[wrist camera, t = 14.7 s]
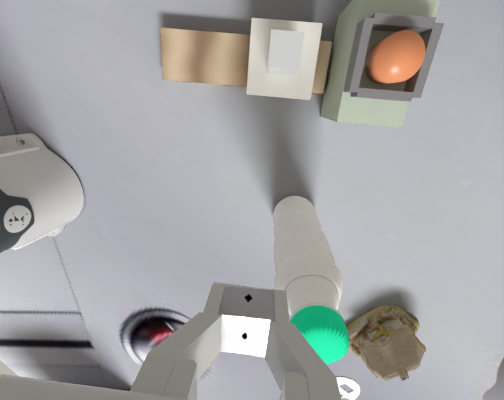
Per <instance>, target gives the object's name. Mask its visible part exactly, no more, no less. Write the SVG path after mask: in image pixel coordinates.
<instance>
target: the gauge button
mask: <svg viewBox="0 0 504 400" xmlns="http://www.w3.org/2000/svg"><path fill="white" fill-rule="evenodd" d="M424 58H425V44H424V41H423V39H422V37H421V36H420V35H419V34H418V33H416V32H414V31H411V30H402V31H398V32H396V33H394V34H392V35H390V36H388V37H387V38H385V39H383V40H381V41H379V42H378V43H376V44H375V45H374V46H373V47H372V48H371V50H370V51H369V53H368V55H367V57H366V61H365V70H366V74H367V76H368V77H369V79H370V80H371V81H373V82H374V83H377V84H389V83H396V82H402V81H405V80H407V79H409V78H410V77H412V76H413V75H414V74H415V73H416V72H417V71H418V70H419V69H420V67H421V65H422V63H423V61H424Z"/></svg>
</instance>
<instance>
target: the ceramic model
mask: <svg viewBox="0 0 504 400" xmlns="http://www.w3.org/2000/svg"><path fill="white" fill-rule="evenodd" d="M346 328H347V331H348V335H349V347H350V348H351V349H352V351H353V352H354V353H355V354H356V355H357V356H361V358H362V360H363V361H364V362H365V363H366V365H367V367H368V369H369V370H370V371H371V372H372V373H373V374H374V375H375V376H376V377H380V378H382V379H384V380H389V379H392V378H395V377H397V376H398V375H399V377H400V378H401V380H402V381H403V380H405V379H406V378H409V376H408V373H407V372H408V371H412V370H414V369H416V368H418V367H419V366H420V362H421V359H422V357H423V354H424V352H426V347H425V346H424V345H423V344H422V343H421V342H420V341H419V339H418V338H417V337H416V336H415V333H416V332H417V329H418V328H419V322H418V321H417V320H415V319H413V318H412V317H410V316H409V315H408V314H407V313H406V312H405V311H404V310H403V309H402V308H401V307H398V306H393V305H388V306H379V307H376V308H374V309H372V310H370V311H369V312H367V313H365V314H363V315H362V316H360V317H359V318H357V319H356V320H354V321H353V322H351V323H350V324H349V325H348V326H347V327H346Z"/></svg>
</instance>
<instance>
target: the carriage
mask: <svg viewBox="0 0 504 400" xmlns="http://www.w3.org/2000/svg"><path fill="white" fill-rule="evenodd" d="M322 25H323V23H313V22H301V21H288V20H275V19H262V18H252V20H251V35H250V49H249V64H248V79H247V93H246V94H247V95H257V96H268V97H279V98H290V99H302V100H311V94H312V88H313V81H314V75H315V69H316V62H317V56H318V50H319V44H320V37H321V31H322Z"/></svg>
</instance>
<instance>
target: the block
mask: <svg viewBox="0 0 504 400" xmlns="http://www.w3.org/2000/svg"><path fill="white" fill-rule="evenodd" d="M160 35H161V56H162V77H163V79H164V80H171V81H182V82H194V83H205V84H216V85H228V86H239V87H247V79H248V64H249V49H250V35H246V34H234V33H221V32H209V31H197V30H184V29H172V28H160ZM331 46H332V41H320V44H319V50H318V56H317V62H316V69H315V75H314V81H313V88H312V93H318V94H322V93H323V92H324V86H325V80H326V75H327V69H328V63H329V58H330V52H331Z"/></svg>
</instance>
